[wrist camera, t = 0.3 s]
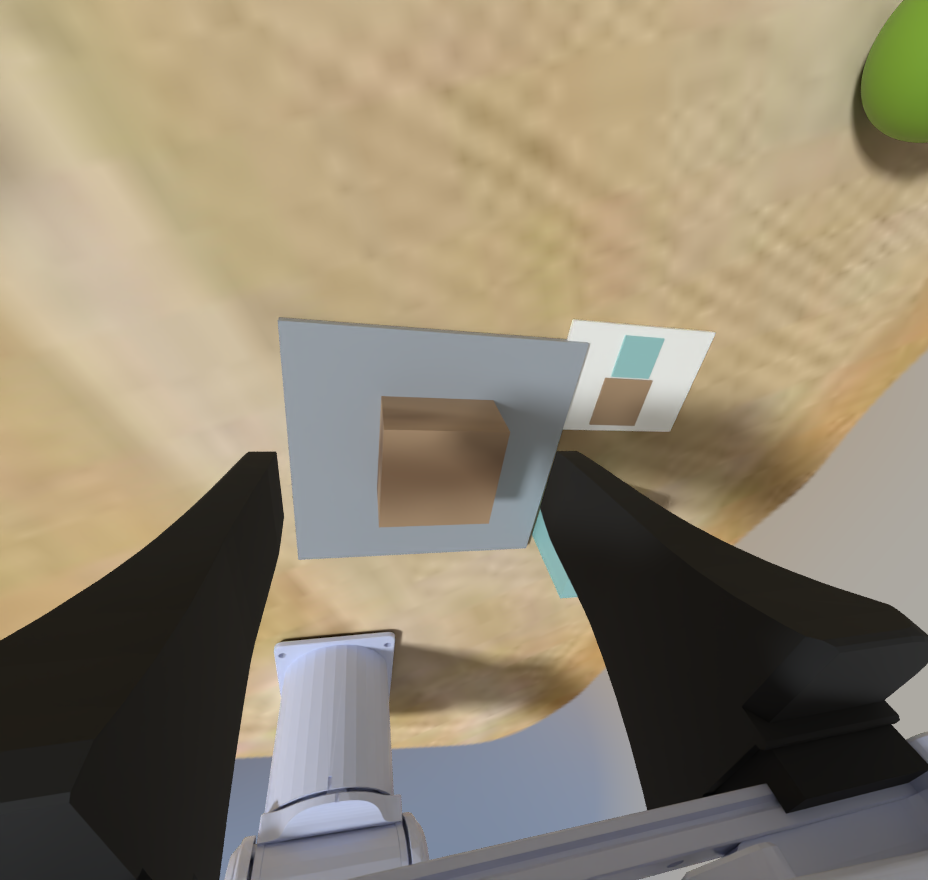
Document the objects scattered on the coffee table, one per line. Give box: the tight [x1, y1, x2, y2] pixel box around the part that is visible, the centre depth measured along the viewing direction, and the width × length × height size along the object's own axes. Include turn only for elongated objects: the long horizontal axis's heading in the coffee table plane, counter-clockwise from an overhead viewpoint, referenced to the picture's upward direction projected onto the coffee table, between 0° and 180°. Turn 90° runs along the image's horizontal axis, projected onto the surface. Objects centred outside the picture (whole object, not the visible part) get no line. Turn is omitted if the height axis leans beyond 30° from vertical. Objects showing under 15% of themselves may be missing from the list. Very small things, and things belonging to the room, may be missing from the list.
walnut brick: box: [377, 396, 510, 527], centre depth 21 cm, size 6×6×3 cm
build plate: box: [278, 317, 589, 560], centre depth 23 cm, size 14×14×1 cm
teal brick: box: [532, 510, 578, 598], centre depth 26 cm, size 4×4×5 cm
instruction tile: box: [563, 319, 716, 432], centre depth 23 cm, size 6×8×1 cm
